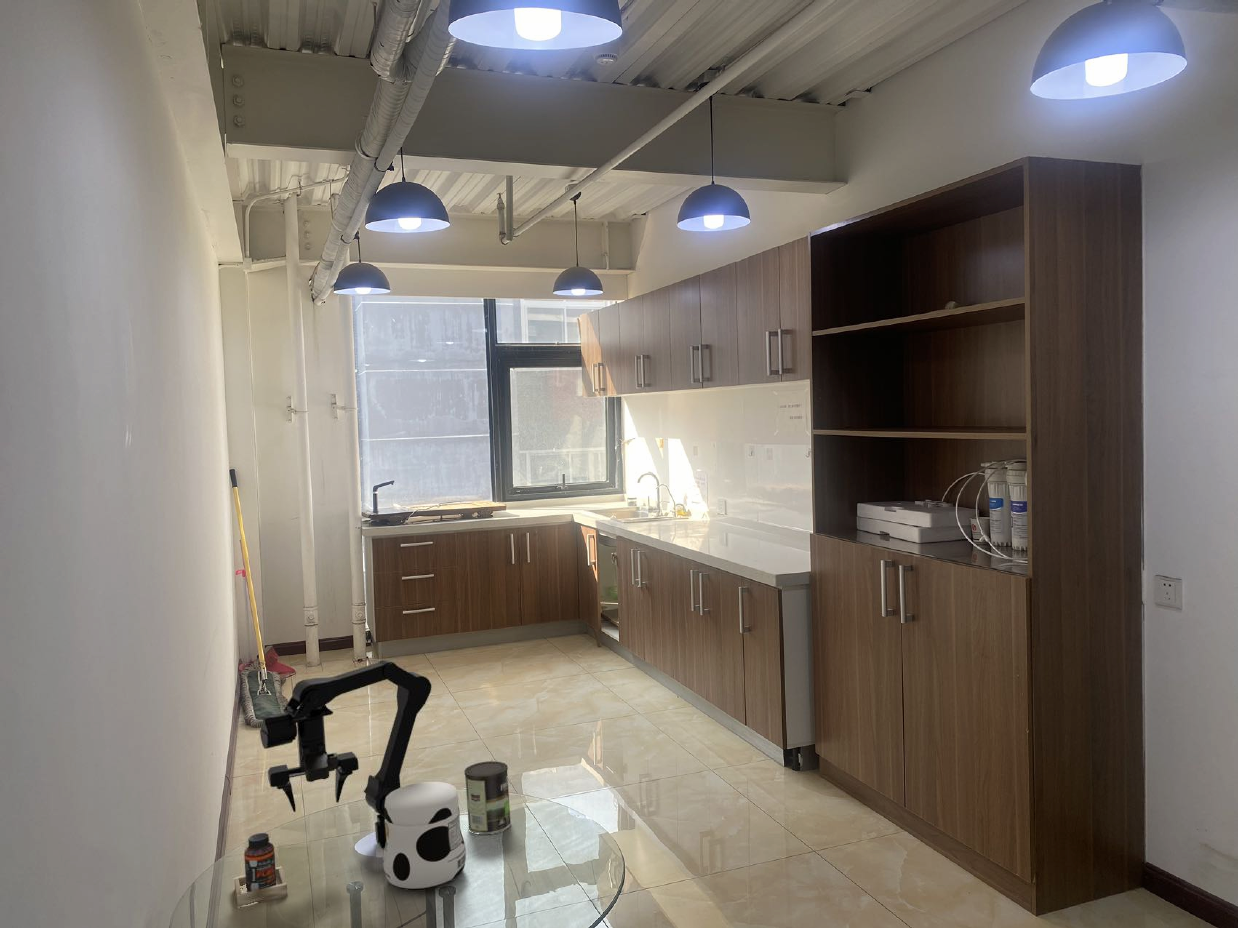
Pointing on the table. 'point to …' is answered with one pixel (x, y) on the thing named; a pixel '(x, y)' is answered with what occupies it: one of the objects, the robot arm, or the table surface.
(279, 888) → the tray
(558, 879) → the table surface
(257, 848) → the supplement bottle
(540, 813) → the table surface
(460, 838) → the milk container
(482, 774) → the coffee can
